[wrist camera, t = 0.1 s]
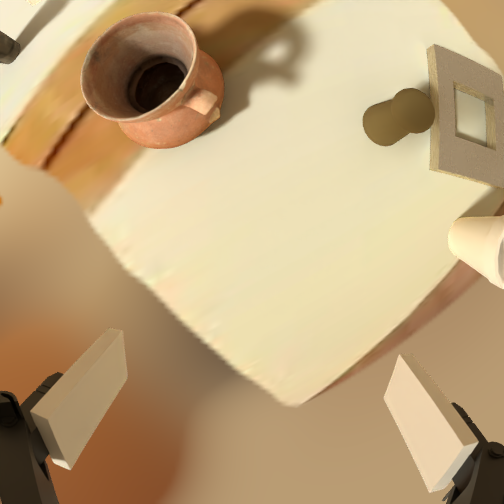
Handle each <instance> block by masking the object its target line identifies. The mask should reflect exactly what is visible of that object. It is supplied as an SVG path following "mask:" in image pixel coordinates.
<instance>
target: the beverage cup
mask: <svg viewBox="0 0 504 504" xmlns="http://www.w3.org/2000/svg"><path fill="white" fill-rule="evenodd" d="M19 51H20V44H18V43H17V42H16V41H15V40H13V39H12V38H10V37H9V36H7V35H6V34H4V33H3V32H1V31H0V63H4V64H10V63H12V62H13V61H14V60H15V59H16V57H17V56H18V54H19Z"/></svg>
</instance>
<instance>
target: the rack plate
mask: <svg viewBox="0 0 504 504" xmlns="http://www.w3.org/2000/svg"><path fill="white" fill-rule="evenodd" d="M427 59H428V70H429V84H430V100H431V101H432V103H433V106H434V109H435V119H434V123H433V124H432V126H431V144H430V169H429V170H432V171H436V172H440V173H444V174H448V175H452V176H456V177H460V178H463V179H467V180H471V181H474V182H478V183H481V184H484V185H488V186H491V187H494V188H500V189H504V92H503V84H502V77H501V75H499V74H497V73H495V72H493V71H491V70H490V69H488V68H486V67H484V66H482V65H480V64H478V63H476V62H474V61H472V60H470V59H468V58H465V57H463V56H461V55H459V54H457V53H454V52H452V51H450V50H447V49H445V48H443V47H440V46H438V45H435V44H433V45H432V46H430V47H429V48H428V49H427ZM454 88H455V89H457V90H460V91H462V92H465V93H467V94H469V95H472V96H474V97H476V98H479V99H481V100H483V101H485V112H486V137H487V147H484V146H482V145H479V144H476V143H474V142H471V141H468V140H465V139H462V138H459V137H456V136H455V102H454Z"/></svg>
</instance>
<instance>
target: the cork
mask: <svg viewBox="0 0 504 504" xmlns="http://www.w3.org/2000/svg"><path fill="white" fill-rule="evenodd" d="M434 119H435V109H434V106H433V103H432V101H431V100H430V98H429V97H428V96H427V95H426V94H425V93H423V92H421V91H420V90H418V89H414V88H408V89H403V90H401V91H399V92H398V93H397V94H396V95H395V97H394V98H393V100H389V101H386V102H382V103H379V104H376V105H373V106H371V107H369V108H368V109H367V110H366V112H365V113H364V116H363V127H364V130H365V133H366V134H367V136H368V137H369V138H370V139H371V140H372V141H373V142H374V143H376V144H378V145H381V146H390V145H393V144H394V143H396V142H397V141H399V140H400V139H402V138H403V137H405V136H406V135H408V134H409V133H422V132H425V131H426V130H428V129H429V128H430V127H431V126H432V124H433V123H434Z"/></svg>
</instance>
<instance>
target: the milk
mask: <svg viewBox="0 0 504 504" xmlns="http://www.w3.org/2000/svg"><path fill="white" fill-rule="evenodd" d="M26 1H27V2H28V3H30V4H31V5H32V6H34V5H36V4H37V3H39V2H41V1H43V0H26Z"/></svg>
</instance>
